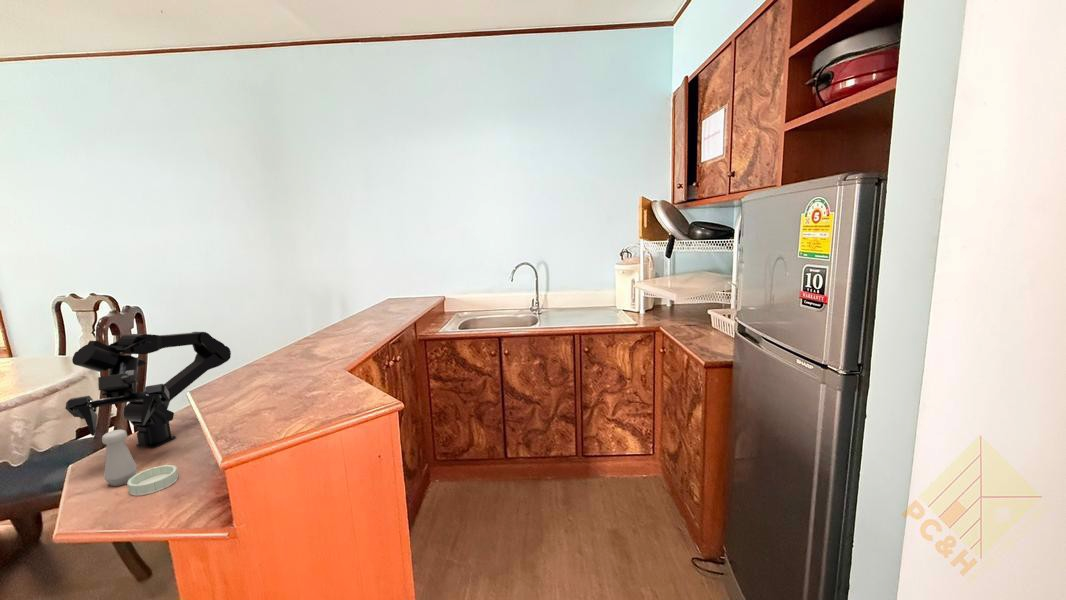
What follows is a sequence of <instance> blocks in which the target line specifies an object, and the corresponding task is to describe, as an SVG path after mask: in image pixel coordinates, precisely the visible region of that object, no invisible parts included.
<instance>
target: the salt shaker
mask: <svg viewBox="0 0 1066 600" xmlns="http://www.w3.org/2000/svg"><path fill="white" fill-rule="evenodd" d="M127 438H128V433H127V431H126V430H124V429H116V430H111V431H108V432H106V433H104V435H102V436H101V441H102V444H103V445H106V449H105V462H104V463H105V465H104V474H103V475H104V480H105V481H106V482H107V483H108V484H109V485H110V486H114V487H119V486H123V485H126V484H127V482H128V480H129V479H130V478H132V477H133V476H134V475H136V474H137V471H138V465H137V464H136V462H135V459H134V458H133V455H132V454H131V452H130V450H129V448H128V445H127V444H126V441H125V440H126V439H127Z"/></svg>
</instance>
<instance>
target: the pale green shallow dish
mask: <svg viewBox="0 0 1066 600" xmlns="http://www.w3.org/2000/svg"><path fill="white" fill-rule="evenodd" d="M178 476H179V474H178V468H177V466H176V465H173V464H172V465H171V464H166V465H159V466H155V467H150V468H148V469H144V470H142V471H141V472H138V473H136V475H134V476H133V477H132V478H130V479H129V480H128V482H127V483H126V484H127V489H128V492H129V495H131V496H138V497H140V496H145V495H151V494H154V493H156V492H157V493H158V492H159V491H160V492H161V491H162V490H165V489H166V488H168V487H170V486H172V485H174V484H175V483H176V482H177V481H178V480H179V479H178V478H179V477H178Z"/></svg>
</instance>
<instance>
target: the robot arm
mask: <svg viewBox="0 0 1066 600" xmlns="http://www.w3.org/2000/svg"><path fill="white" fill-rule="evenodd" d="M183 346H192V348H193V351H194V352H195V353H196V354H195V357H194V359H193V361H192V362H191V363H189V365H187V366H185V368H183V369H182V370H180V371H179V372H178V373H177V374H175V375H174V376H173V377H171V378H170V379H168V381H167V382H165V383H158V384H153V385H147V386H145V387H144V391H140V392H137V387H138V384H139V382H138V381H139V377H138V372H139V371H138V370H139V368H141V367H143V366H145V365H147V363H146V361H145V360H144V359H141V358H140V357H139V356H137V357H136V356H134V355H149V354H151V353H155V352H158V351H160V350H161V349H166V348H167V349H168V348H173V347H174V348H175V347H183ZM231 356H232V352H231V349H230V348H229V347H228V346H227V345H225V344H224V343H223V342H221V341H219V340H218V339H216V338H214V337H213V336H212V335H211V334H209V333H208V332H206V331H192V332H183V333H182V332H181V333H171V334H170V333H169V334H162V335H159V334H148V333H147V334H146V333H124V334H123V335H121V337H120V338H119V339H118V340H116V341H114V342H112V343H110V344H108V345H107V344H104V343H103V342H101V341H99V340H89V341H88V343H87V344H85V345H83V346H82V347H80V348H79V349H78V350H77V351H75V352H74V354H73V356H72V358H71V359H72V360H71V361H72V362H71V363H72V364H74V366H78V367H82V368H85V369H88V370H92V371H96V372H98V373H104V372H105V371H107V370H108V373H107V374H108V375H104V376H99V377H98V378H97V379H98V381H97V382H98V383H97V385H98V391H101V395H102V396H105V398H99V399H98V398H97V399H93V397H92V396H90V395H85V396H78V397H72V398H70V399H68V400H67V401H66V403H65V410H66V411H67V412H68V413H69V414H70V415H71V416H72V417H74V418H79V419H81V420H84V421H85V423H86V426H87V427H88V430H89V433H90V435H91V436H92V437H94V436H95V435H96V432H97V424H98V414H97V410H98V408H101V407H106V406H112V405H118V404H126V405H125V406H124V407H123V417H124V419H126V420H127V421H129V422H130V423H131V424H132V426H136V427H137V432H136V437H137V444H136V445H135V447H137V448H138V447H139V448H147V449H148V448H149V449H155V448H157V447H159V446H160V445H164V444H165V443H168V442H170V441H171V440H174V439H176V438H177V437H176V435H172V432H171V428H170V427H171V426H170V421H173V420H174V416H175V412H174V411H171V410H169V409H168V408H169V406H170V402H171V401H172V400H174V399H175V397H177V396H178V395H179V394H180V393H182V392H183V391H185V389H187V388H188V387H190V386H191V385H192V384H193V383H194V382H196V381H197V380H198V379H199V378H200V377H202V376H203V375H204V374H205V373H206V372H208V371H209V370H212V369H215V368H217V367H219V366H222V365H224V364H225V363H227V362H229V360H230V359H231Z"/></svg>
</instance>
